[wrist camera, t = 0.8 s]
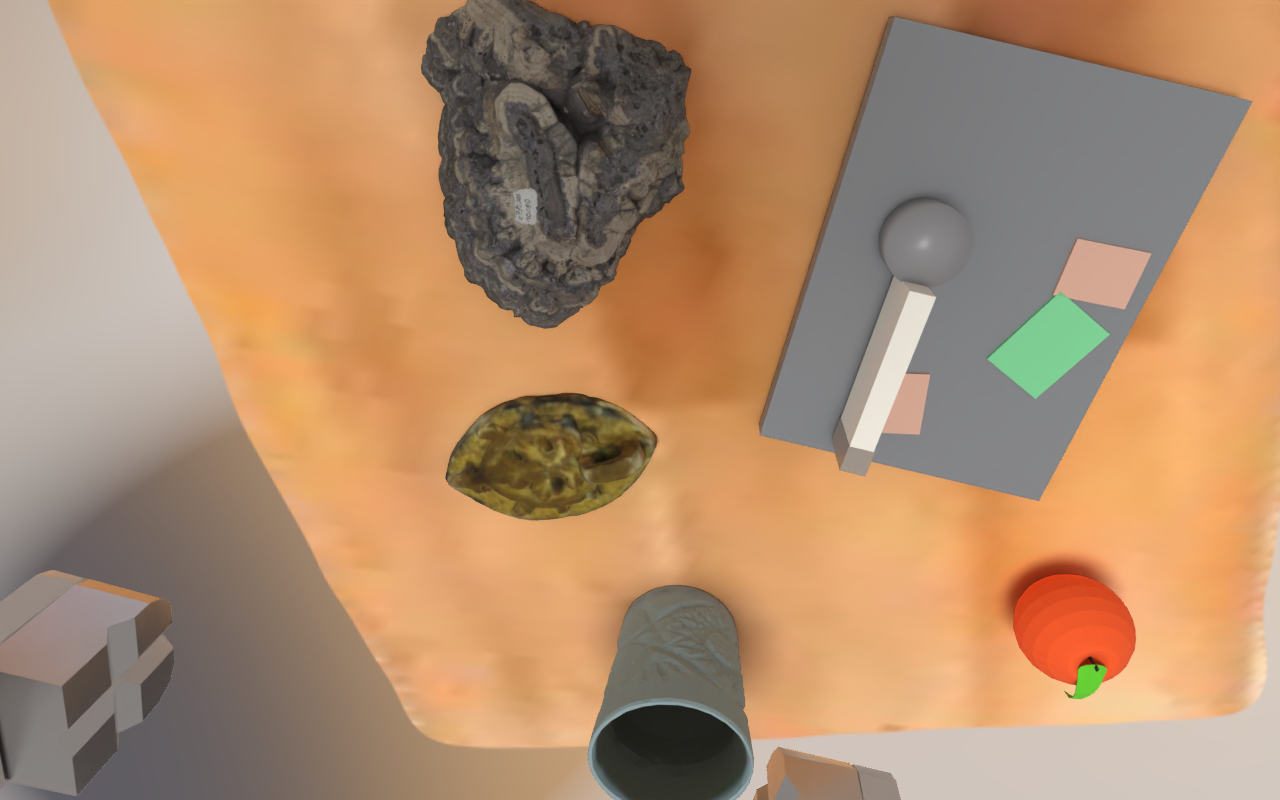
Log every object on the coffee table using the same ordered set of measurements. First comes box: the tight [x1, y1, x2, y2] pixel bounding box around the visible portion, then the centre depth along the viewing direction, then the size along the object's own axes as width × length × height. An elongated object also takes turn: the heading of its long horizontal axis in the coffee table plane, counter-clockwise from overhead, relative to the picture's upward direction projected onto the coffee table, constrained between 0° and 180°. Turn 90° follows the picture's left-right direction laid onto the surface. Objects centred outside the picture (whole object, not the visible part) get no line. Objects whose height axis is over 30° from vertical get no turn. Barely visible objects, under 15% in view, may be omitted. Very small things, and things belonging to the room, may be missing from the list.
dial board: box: [759, 17, 1252, 501], centre depth 43 cm, size 24×18×2 cm
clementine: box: [1013, 574, 1136, 699], centre depth 50 cm, size 8×7×7 cm
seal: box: [445, 393, 657, 520], centre depth 50 cm, size 9×5×15 cm
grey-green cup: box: [588, 586, 754, 800], centre depth 52 cm, size 10×10×12 cm
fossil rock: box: [421, 0, 691, 329], centre depth 42 cm, size 19×4×15 cm
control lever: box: [832, 198, 973, 476], centre depth 42 cm, size 15×4×4 cm, turn 168°
